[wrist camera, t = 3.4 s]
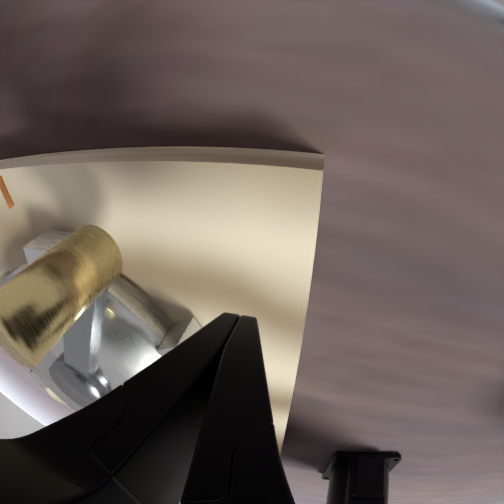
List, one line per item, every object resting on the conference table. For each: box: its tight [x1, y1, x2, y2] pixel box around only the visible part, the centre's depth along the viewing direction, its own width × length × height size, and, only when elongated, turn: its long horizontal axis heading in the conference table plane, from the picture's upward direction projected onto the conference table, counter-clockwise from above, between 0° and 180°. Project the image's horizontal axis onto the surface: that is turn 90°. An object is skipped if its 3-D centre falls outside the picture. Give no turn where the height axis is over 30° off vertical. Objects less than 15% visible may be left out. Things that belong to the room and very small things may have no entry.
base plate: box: [0, 146, 324, 453], centre depth 19 cm, size 24×24×3 cm
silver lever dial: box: [0, 224, 201, 411], centre depth 15 cm, size 19×16×7 cm
